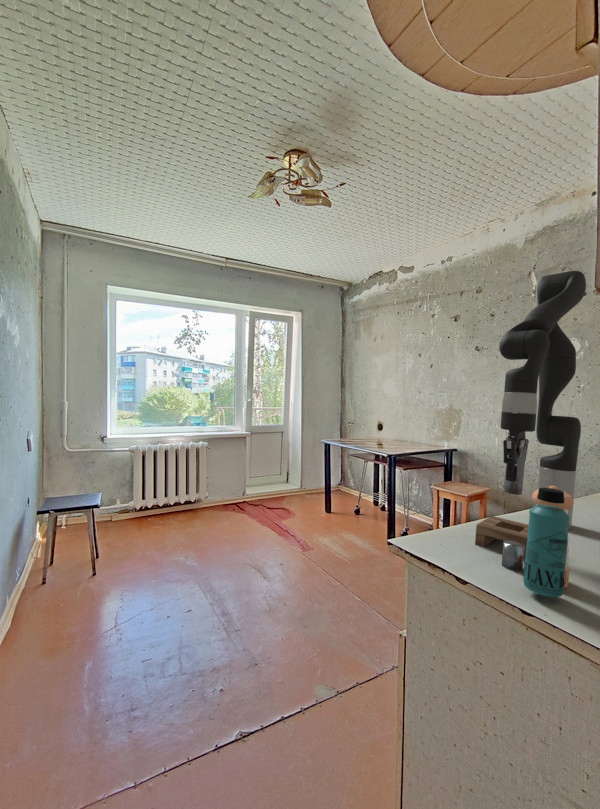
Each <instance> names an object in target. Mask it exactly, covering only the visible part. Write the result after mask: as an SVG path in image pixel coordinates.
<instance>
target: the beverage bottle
mask: <svg viewBox="0 0 600 809" xmlns="http://www.w3.org/2000/svg"><path fill="white" fill-rule="evenodd" d="M537 498H538V499H539V500H542V501H546V502H551V503H559V504H562V503H564V492H563V491H560V490H557V489H552V488H539V491H538V495H537ZM569 520H570V517H569V515H568V514H567V513H566V512H565V511H564V510H563V509H561V508H558V507H554V506H549V505H536V504H535V505H534V506H532V507H531V508H530V509H529V517H528V525H529V526H528V538H527V546H526V554H525V557H524V558H525V559H523V573H522V579H523V580H522V581H523V585H524V587H526V589H528V590H529V591H531V592H533V593H535V594H538V595H541V596H544V597H548V598H560V597H562V596H563V594H564V591H565V589H566V588H565V586H564V584H565V582H564V577H565V578H566V575H565V572H566V571H565V566H566V564H567V565H568V563H566V554H567V546H569V541H570V539H569V537H568V536H569V530H570V529H569ZM567 543H568V545H567Z"/></svg>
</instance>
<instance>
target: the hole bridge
mask: <svg viewBox="0 0 600 809" xmlns="http://www.w3.org/2000/svg"><path fill="white" fill-rule="evenodd" d="M528 526H529V524H528V523H523V522H518V521H515V520H511V519H507V518H501V517H498V516H494V515H490V516H489V517H486V518H485V519H483V520H482V521H480V522H479V523H476V528H475V541H474V545H475V546H479V547H482V548H484V547H486V546H488V544H490V543H492V541H494V540H496V539H497V540H501V541H503V542H504V541H514V542H518V543H520V544H522V545H524V557H525V554H526V546H527V538H528ZM523 560H525V558H524V559H523Z"/></svg>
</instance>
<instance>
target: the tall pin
mask: <svg viewBox="0 0 600 809" xmlns="http://www.w3.org/2000/svg"><path fill="white" fill-rule="evenodd" d="M518 452H519V451H518ZM518 452H516V453H518ZM525 457H526V458H527V454H526V450H525V449H523V450H522V456H521V457H520V458H519V461H518V466H517V467H518V468H517V480H516V481H515V482H511V481H507V480H506V470H507V465H506V464H505V472H504V473H505V474H504V480H503V482H504V483H503V492H504V493H506V494H510V495H517V496H521V495H523V486H524V474H525V466H526V460H525ZM510 459H513V456H510Z"/></svg>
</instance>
